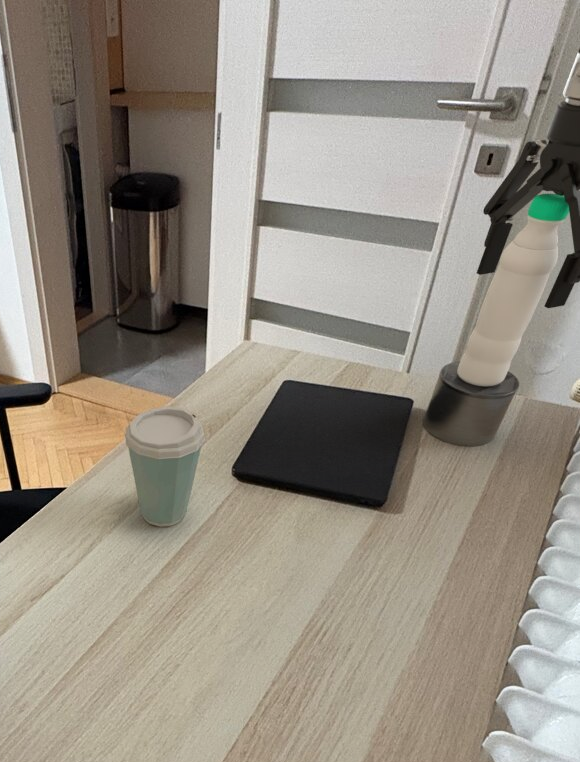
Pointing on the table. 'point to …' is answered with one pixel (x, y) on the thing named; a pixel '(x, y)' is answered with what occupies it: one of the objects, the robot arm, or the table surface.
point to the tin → (467, 408)
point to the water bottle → (514, 293)
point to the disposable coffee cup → (164, 461)
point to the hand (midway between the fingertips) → (517, 288)
